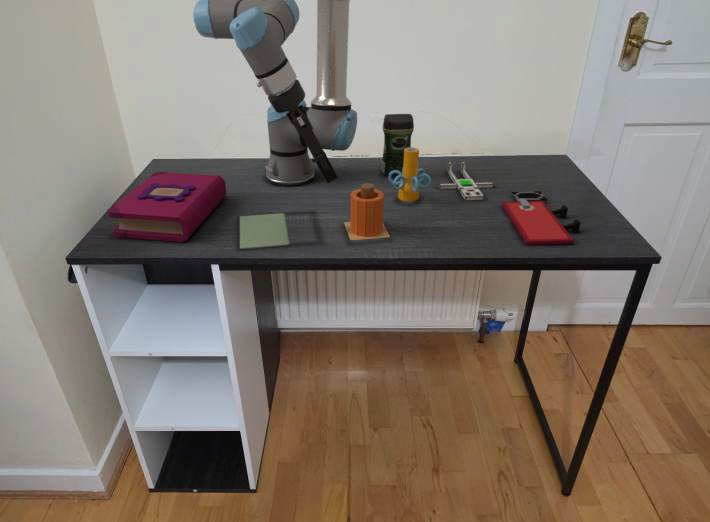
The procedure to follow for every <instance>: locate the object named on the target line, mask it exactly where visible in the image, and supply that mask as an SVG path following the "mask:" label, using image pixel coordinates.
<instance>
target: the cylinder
mask: <svg viewBox="0 0 710 522" xmlns="http://www.w3.org/2000/svg"><path fill="white" fill-rule="evenodd" d="M419 157H420V149H419V148H418V147H412V146H411V147H408V148H405V149H404V164H403V168H402V173H401V172H400V171H398V170H394V171H391V172H390V174H389V176H388V181H389V183H391V184H392V187H393V189H394V190H396V191H397V198H398V199H399V200H401V201H403V202H414V201H417V200H419V198H420V191H421V190H420V189H426V188H429V187H430V186H431V184H432V178H431V176H430V175H429V174H427V173H426V170H425V169H424V168H419ZM420 172H421V173H420ZM393 173H398V174H399V175H398V176H395V178H394V179H393V178H392V177H393V176H392V174H393ZM419 173H420V174H419ZM425 178H427V180H428V182H427V183H426V184H425V185H424V184H421V183H422V182H423V181H424V179H425ZM397 185H398V186H397Z"/></svg>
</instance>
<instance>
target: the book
mask: <svg viewBox="0 0 710 522" xmlns="http://www.w3.org/2000/svg"><path fill="white" fill-rule="evenodd" d="M226 196H227V185H226V180H225V179H224V178H223V177H222V176H220V175H217V174H215V175H214V174H200V173H183V172H168V171H156V172H154V173H152V174H151V175H149V177H148V178H147V179H145V180H144V181H143V182H142V183H140V184H139V185H138V186H137V187H136V188H135V189H132V191H130V192H129V193H128V194H126V196H124V197H122V198H121V200H119V201H118V202H117V203H115V204H113V205H111V206H110V207H109V208H107V210H106V213H107V216H108V218H111V219H117V220H118V223H119V224H118V225H117V226H115V227H114V228H113V229H112V235H113V237H115V238H116V239H138V240H150V241H165V242H176V243H185V242H187V241H188V239H189V238H191V236H192V235H193V234H194V232H196V230H197V229H198V228H199V227H200V226H201V224H203V222H204V221H205V220H206V219H207V218H208V216H209V215H210V214H211V213H212V212H213V211H214V209H215V208H216V207H217V206H218V205H219V204H220V203H221V201H222V200H223V199H224V198H225V197H226Z"/></svg>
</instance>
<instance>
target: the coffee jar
mask: <svg viewBox="0 0 710 522" xmlns="http://www.w3.org/2000/svg"><path fill="white" fill-rule="evenodd" d="M414 130H415V125H414V117H413V114H412V113H388V114H387V113H386V114H384V117H383V123H382V132H383V135H384V139H383V140H384V141H383V150H382V159H381V168H380V169H381V170H380V171H381V173H382V174H383V175H385V176H387V177H389V174H390V172H391V171H394V170H398V171H400V172H401V173H402V168H403V164H404V149H405V148H408V147H412V135H413V134H414V133H413V132H414ZM398 175H399V174H398V173H393V174H392V176H391V177H397V176H398Z"/></svg>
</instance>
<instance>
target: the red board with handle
mask: <svg viewBox="0 0 710 522" xmlns="http://www.w3.org/2000/svg"><path fill="white" fill-rule="evenodd" d="M511 194H512V196H513V197H514V198H515V200H516V201H502V202H501V206H502V208H503V210H504V211H505V212H506V214H507V216H508V217H509V219H510V220H511V222H512V224H513V225H514V227H515V228H516V230H517V232H518V234H519V235H520V237H521V238H522V240H523V241H524V243H525V244H526V246H527V245H529V246H531V245H567V244H568V245H570V244H574V241H575V240H574V239H573V236H571V234H569V232H568V231H567V230H571V231H572V232H573V233H574V234H579V231H580V227H581V221H580V220H579V219H573V221H572V223H567V224H563V225H562V223H561V222H560V221H559V219H558V218H557V217H556V215H559V216H560V217H561V218H562V219H566V218H567V214H568V210H569V208H568V206H567V205H565V204H563V205H561V208H557V209H553V210H551V209H550V208H549V207H548V206H547V204H546V203H545V202H548V200H549V199H547V197H546V196H545V195H544V194H543V192H542V191H540V190H535V191H534V190H533V191H511Z"/></svg>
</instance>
